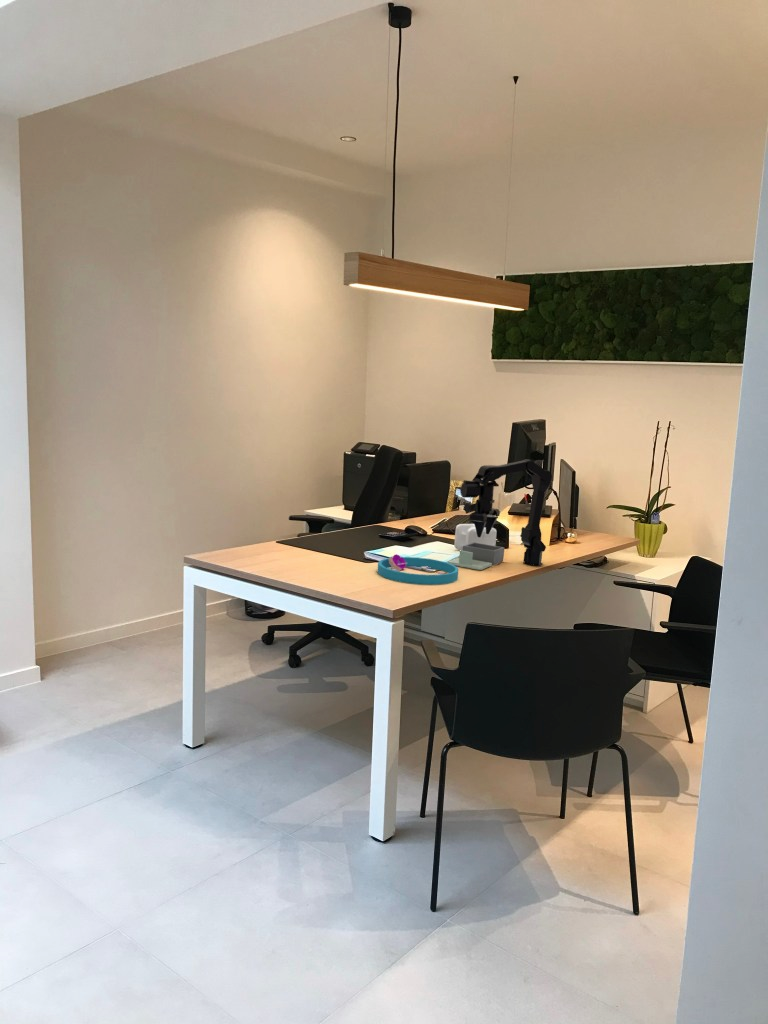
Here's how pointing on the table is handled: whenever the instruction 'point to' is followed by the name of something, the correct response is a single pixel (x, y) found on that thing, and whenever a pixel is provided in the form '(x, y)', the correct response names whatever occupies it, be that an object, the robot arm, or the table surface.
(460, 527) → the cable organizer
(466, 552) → the lid
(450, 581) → the teal ring
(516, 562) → the table surface
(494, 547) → the parts tub
